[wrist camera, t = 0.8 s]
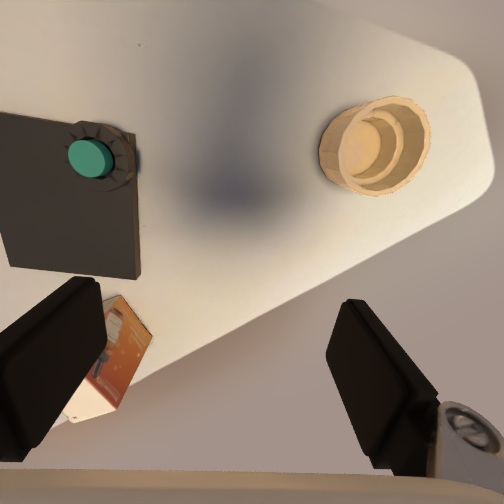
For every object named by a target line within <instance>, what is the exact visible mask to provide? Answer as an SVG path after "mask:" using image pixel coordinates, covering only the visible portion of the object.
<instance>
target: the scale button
mask: <svg viewBox="0 0 504 504" xmlns="http://www.w3.org/2000/svg"><path fill="white" fill-rule="evenodd" d="M68 158H69V161H70V163H71V165H72V167H73V168H74V169H75V170H76V171H77V172H78V173H80V174H81V175H83V176H86V177H98V176H102V175H106V174H108V173H109V172H110V171H111V169H112V167H113V157H112V154H111V152H110V151H109V149H108V148H107V147H106V146H105V145H103V144H102V143H100V142H98V141H94V140H78V141H75V142H74V143H72V144H71V146H70V147H69V150H68Z"/></svg>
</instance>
